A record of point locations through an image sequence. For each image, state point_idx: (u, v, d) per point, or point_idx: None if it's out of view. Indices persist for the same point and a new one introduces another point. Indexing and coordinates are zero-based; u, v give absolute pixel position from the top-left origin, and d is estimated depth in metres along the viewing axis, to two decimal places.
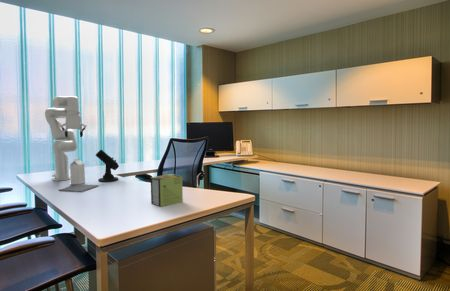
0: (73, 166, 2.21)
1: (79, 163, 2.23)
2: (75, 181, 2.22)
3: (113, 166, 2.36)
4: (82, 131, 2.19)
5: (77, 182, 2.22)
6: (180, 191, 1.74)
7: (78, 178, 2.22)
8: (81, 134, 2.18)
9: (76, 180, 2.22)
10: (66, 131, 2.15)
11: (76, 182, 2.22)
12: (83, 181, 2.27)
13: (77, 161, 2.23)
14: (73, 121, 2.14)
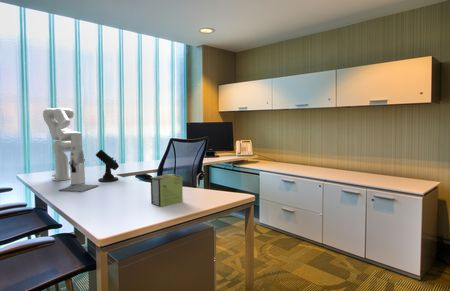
0: None
1: (79, 163, 2.23)
2: (75, 181, 2.22)
3: (113, 166, 2.36)
4: (72, 167, 2.20)
5: (77, 182, 2.22)
6: (180, 191, 1.74)
7: (78, 178, 2.22)
8: (72, 170, 2.21)
9: (76, 180, 2.22)
10: None
11: (76, 182, 2.22)
12: (83, 181, 2.27)
13: None
14: None
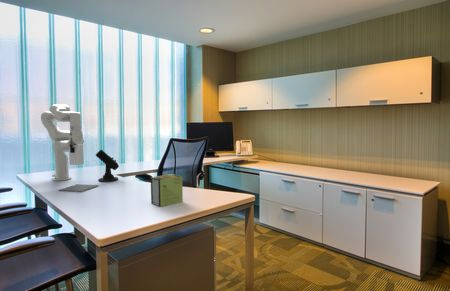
0: None
1: None
2: (74, 161, 2.21)
3: (113, 166, 2.36)
4: (71, 147, 2.19)
5: (76, 162, 2.21)
6: (180, 191, 1.74)
7: (77, 158, 2.21)
8: (71, 150, 2.20)
9: (74, 161, 2.21)
10: None
11: (75, 162, 2.21)
12: (82, 162, 2.26)
13: None
14: None
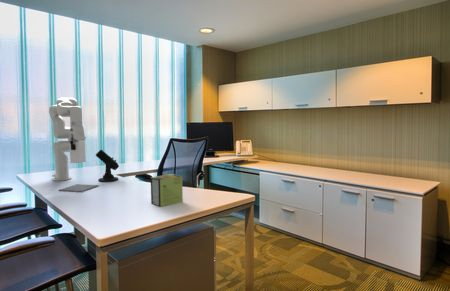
0: None
1: (79, 140, 2.06)
2: (75, 159, 2.05)
3: (113, 166, 2.36)
4: (72, 144, 2.02)
5: (77, 160, 2.05)
6: (180, 191, 1.74)
7: (78, 156, 2.04)
8: None
9: (75, 159, 2.05)
10: None
11: (76, 160, 2.05)
12: (84, 160, 2.09)
13: None
14: None
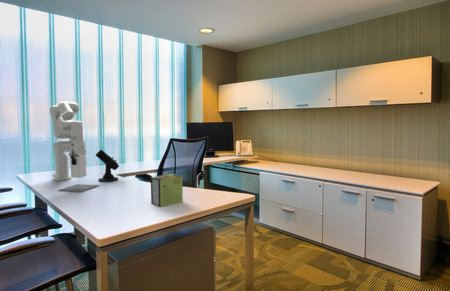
0: None
1: None
2: (76, 174, 2.05)
3: (113, 166, 2.36)
4: (72, 159, 2.03)
5: (78, 175, 2.05)
6: (180, 191, 1.74)
7: (79, 171, 2.05)
8: None
9: (76, 173, 2.05)
10: None
11: (77, 175, 2.05)
12: (84, 174, 2.10)
13: None
14: None
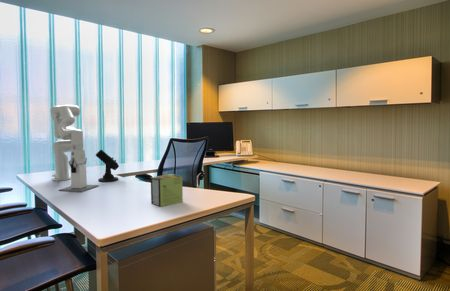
0: None
1: (80, 165, 2.07)
2: (76, 184, 2.06)
3: (113, 166, 2.36)
4: (72, 167, 2.03)
5: (78, 186, 2.06)
6: (180, 191, 1.74)
7: (79, 181, 2.06)
8: (72, 170, 2.04)
9: (76, 184, 2.06)
10: None
11: (77, 186, 2.06)
12: (85, 185, 2.11)
13: None
14: None
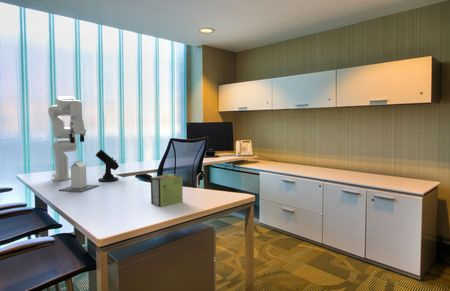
0: (74, 168, 2.05)
1: (80, 165, 2.07)
2: (76, 184, 2.06)
3: (113, 166, 2.36)
4: (71, 137, 2.04)
5: (78, 186, 2.06)
6: (180, 191, 1.74)
7: (79, 181, 2.06)
8: None
9: (76, 184, 2.06)
10: (80, 136, 2.14)
11: (77, 186, 2.06)
12: (85, 185, 2.11)
13: (78, 163, 2.07)
14: None
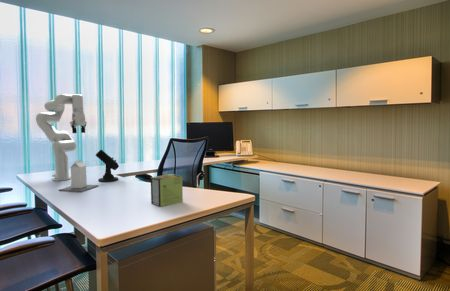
0: (74, 168, 2.05)
1: (80, 165, 2.07)
2: (76, 184, 2.06)
3: (113, 166, 2.36)
4: (73, 128, 2.23)
5: (78, 186, 2.06)
6: (180, 191, 1.74)
7: (79, 181, 2.06)
8: None
9: (76, 184, 2.06)
10: None
11: (77, 186, 2.06)
12: (85, 185, 2.11)
13: (78, 163, 2.07)
14: None
